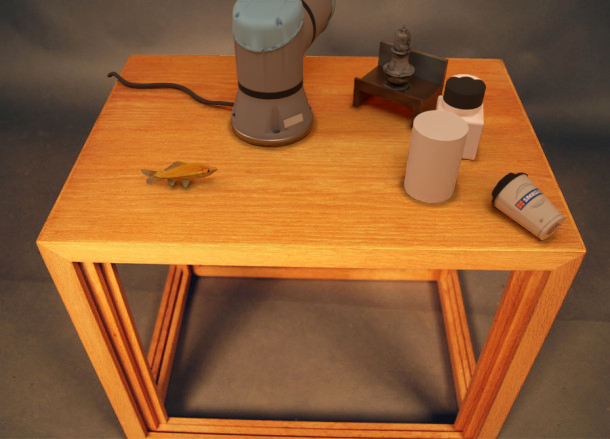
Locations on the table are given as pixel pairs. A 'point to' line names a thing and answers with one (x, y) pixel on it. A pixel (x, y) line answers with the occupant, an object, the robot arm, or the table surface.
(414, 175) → the beige cylinder
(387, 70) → the salt shaker
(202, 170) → the fish
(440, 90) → the spice rack
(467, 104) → the container
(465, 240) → the table surface
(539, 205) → the coffee cup
